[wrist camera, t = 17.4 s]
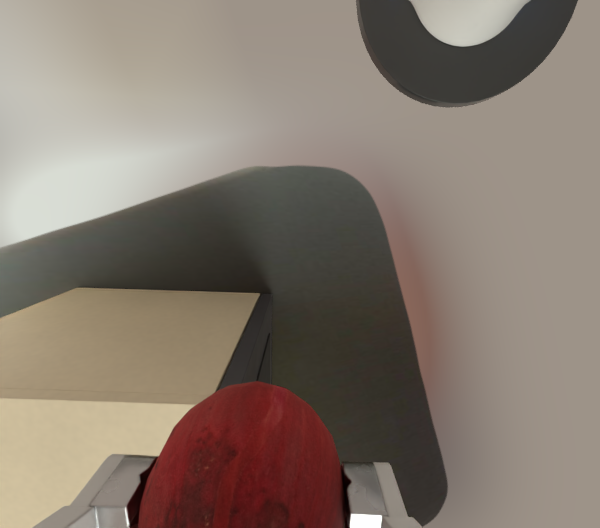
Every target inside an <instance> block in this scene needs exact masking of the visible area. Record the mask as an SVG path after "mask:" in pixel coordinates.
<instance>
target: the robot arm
mask: <svg viewBox="0 0 600 528" xmlns="http://www.w3.org/2000/svg"><path fill="white" fill-rule="evenodd" d="M409 1H410V2H411V3H412V5H413V6H414V8H415V11H416V13H417V15H418V17H419V19H420V21H421V22H422V24H423V26H424V27H425V28H426V29H427V30H428V32H429V33H430V34H432V35H433V36H434V37H435V38H437V39H438V40H440V41H442V42H444V43H446V44H449V45H453V46H461V47H465V46H473V45H478V44H481V43H483V42H486V41H488V40H490V39H492V38H493V37H495V36H496V35H498V34H499V33H500V32H501V31H503V30H504V29H505V28H506V27H507V26H508V25H509V24H510V22H511V21H512V20H513V19H514V17H515V16H516V15H517V13H518V12H519V11H520V10H521V9H522V7H523V6H524V5H525V4H526V3H528V2H529V1H531V0H409ZM158 457H159V456H147V455H131V454H128V455H127V454H111V455H110V456H108V457H107V458H106V459H105V461H104V462H103V463H102V464H101V466H100V467H99V468H98V470H97V471H96V472H95V474H94V475H93V476H92V477H91V479H90V480H89V481H88V483H87V484H86V485H85V486H84V488H83V489H82V490H81V492H80V493H79V494H78V495H77V497H76V498H75V499H74V501H73V502H72V503H71V504H70V506H63V507H62V508H60V509H59V510H57V511H56V512H54V513H53V514H51V515H50V516H49V517H47V518H46V519H44V520H43V521H41V522H40V523H38V524H37V525H35V526H34V527H32V528H138V523H139V512H140V504H141V500H142V497H143V493H144V489H145V486H146V482H147V478H148V476H149V475H150V473H151V471H152V469H153V467H154V465H155V463H156V461H157V459H158ZM341 471H342V476H343V488H344V494H345V508H346V512H345V520H344V528H422V526H421V525H420V524H419V523H418V522H417V521H416V520H415V519H414V518H413V517H408V516H407V513H406V510H405V507H404V504H403V501H402V498H401V495H400V492H399V489H398V486H397V483H396V480H395V477H394V474H393V471H392V468H391V465H390V464H389V463H378V462H373V463H372V462H342V463H341Z"/></svg>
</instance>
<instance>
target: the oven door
mask: <svg viewBox="0 0 600 528" xmlns="http://www.w3.org/2000/svg"><path fill="white" fill-rule="evenodd" d="M254 381H260V382H264V383H268V384H271V385H272V294H262V295H261V297H260V299H259V301H258V303H257V306H256V308H255V310H254V312H253V315H252V317H251V319H250V321H249V324H248V326H247V328H246V330H245V332H244V335H243V337H242V339H241V341H240V344H239V346H238V348H237V350H236V353H235V355H234V357H233V359H232V362H231V364H230V366H229V368H228V370H227V373H226V375H225V377H224V379H223V382H222V384H221V386H220V388H219V390H220V389H223V388H225V387H227V386H229V385H235V384H242V383H248V382H254Z"/></svg>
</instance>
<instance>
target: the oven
mask: <svg viewBox="0 0 600 528" xmlns="http://www.w3.org/2000/svg"><path fill="white" fill-rule="evenodd" d="M259 299H260V293H238V292H205V291H173V290H140V289H108V288H75V289H73V290H70V291H67V292H65V293H62V294H60V295H57V296H55V297H52V298H50V299H47V300H45V301H42V302H40V303H37V304H35V305H32V306H30V307H27V308H25V309H22V310H20V311H17V312H15V313H12V314H10V315H7V316H5V317H2V318H0V528H32V527H34V526H35V525H37V524H38V523H40V522H41V521H43V520H44V519H46V518H47V517H49V516H50V515H51V514H53V513H54V512H56V511H57V510H59V509H60V508H62V507H63V506H70V504H71V503H72V502H73V501H74V499H75V498H76V497H77V495H78V494H79V493H80V492H81V490H82V489H83V488H84V486H85V485H86V484H87V483H88V481H89V480H90V479H91V477H92V476H93V475H94V474H95V472H96V471H97V470H98V468H99V467H100V466H101V464H102V463H103V462H104V461H105V459H106V458H107V457H108V456H110V455H111V454H127V455H128V454H131V455H147V456H159V455H160V453H161V451H162V449H163V447H164V445H165V443H166V441H167V439H168V438H169V436H170V434H171V432H172V430H173V428H174V426H175V425H176V424H177V423H178V422H179V421H180V420H181V419H182V417H183V416H184V415H185V414H186V413H187V412H188V411H189V410H190V409H191V408H192V407H194V406H195V405H197V404H198V403H200V402H201V401H203V400H204V399H206V398H207V397H209V396H210V395H212V394H213V393H215V392H216V391H218V390H219V388H220V386H221V384H222V382H223V379H224V377H225V375H226V373H227V370H228V368H229V366H230V364H231V362H232V359H233V357H234V355H235V353H236V350H237V348H238V346H239V344H240V341H241V339H242V337H243V335H244V332H245V330H246V328H247V326H248V324H249V321H250V319H251V317H252V315H253V312H254V310H255V308H256V306H257V303H258V301H259Z"/></svg>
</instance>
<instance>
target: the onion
mask: <svg viewBox="0 0 600 528" xmlns="http://www.w3.org/2000/svg"><path fill="white" fill-rule="evenodd" d="M345 512H346V508H345V494H344V488H343V476H342V471H341V467H340V462H339V458H338V454H337V451H336V448H335V444H334V441H333V437H332V435H331V434H330V432H329V431H328V429H327V428H326V426H325V425H324V423H323V422H322V421H321V419H320V418H319V416H318V415H317V413H316V412H315V411H314V410H313V409H312V408H311V406H310V405H309V404H308V403H307V402H305V401H304V400H302V399H301V398H299V397H298V396H296V395H295V394H294V393H292V392H291V391H289V390H288V389H286V388H283V387H279V386H275V385H271V384H268V383H264V382H260V381H254V382H248V383H242V384H235V385H229V386H227V387H225V388H223V389H220V390H218V391H216V392H215V393H213V394H212V395H210V396H209V397H207V398H206V399H204V400H203V401H201V402H200V403H198V404H197V405H195V406H194V407H192V408H191V409H190V410H189V411H188V412H187V413H186V414H185V415H184V416H183V417H182V419H181V420H180V421H179V422H178V423H177V424H176V425H175V426H174V428H173V430H172V432H171V434H170V436H169V438H168V439H167V441H166V443H165V445H164V447H163V449H162V451H161V453H160V455H159V457H158V459H157V461H156V463H155V465H154V467H153V469H152V471H151V473H150V475H149V476H148V478H147V482H146V486H145V489H144V493H143V497H142V500H141V504H140V512H139V523H138V528H344V520H345Z"/></svg>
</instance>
